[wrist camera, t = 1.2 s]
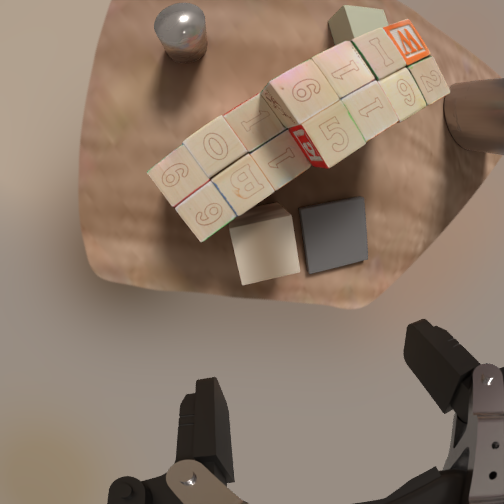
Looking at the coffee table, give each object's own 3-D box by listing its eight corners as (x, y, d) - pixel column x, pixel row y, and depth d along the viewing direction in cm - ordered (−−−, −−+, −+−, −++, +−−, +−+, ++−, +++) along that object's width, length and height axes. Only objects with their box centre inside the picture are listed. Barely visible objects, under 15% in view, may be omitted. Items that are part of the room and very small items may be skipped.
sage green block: (364, 23, 22) (383, 10, 18) (374, 57, 24) (395, 47, 20) (327, 21, 22) (343, 5, 18) (337, 56, 24) (356, 44, 19)
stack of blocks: (205, 215, 28) (195, 261, 17) (167, 163, 26) (129, 174, 14) (375, 105, 26) (454, 92, 14) (345, 56, 24) (411, 16, 12)
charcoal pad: (360, 196, 29) (363, 197, 28) (364, 256, 31) (368, 259, 31) (298, 208, 29) (300, 209, 28) (307, 271, 31) (309, 274, 30)
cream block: (277, 202, 28) (291, 215, 23) (285, 249, 30) (300, 272, 24) (227, 212, 28) (229, 228, 23) (237, 259, 30) (242, 285, 24)
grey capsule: (203, 25, 21) (200, -2, 16) (210, 58, 23) (208, 35, 17) (163, 35, 21) (151, 10, 16) (169, 67, 23) (157, 48, 17)
